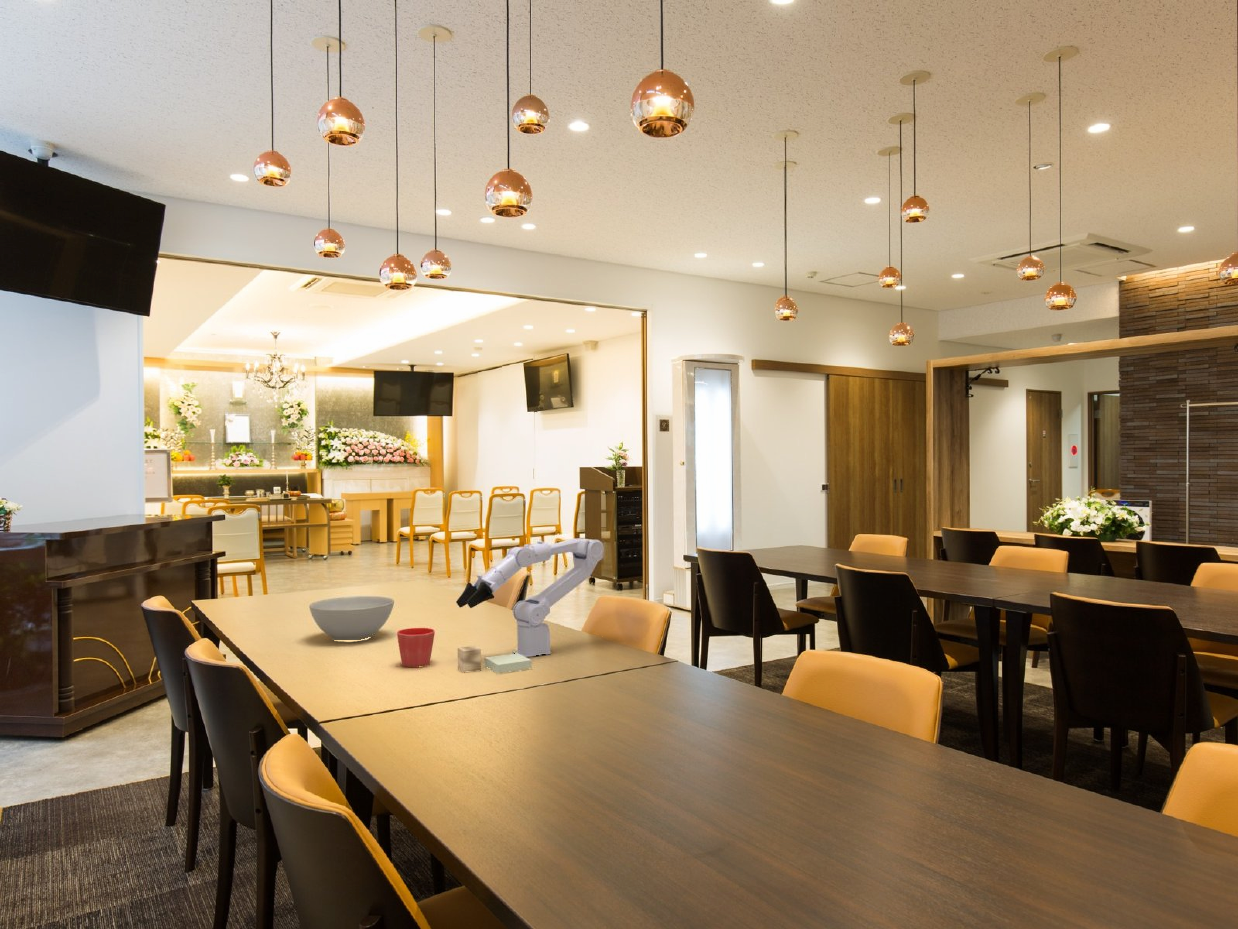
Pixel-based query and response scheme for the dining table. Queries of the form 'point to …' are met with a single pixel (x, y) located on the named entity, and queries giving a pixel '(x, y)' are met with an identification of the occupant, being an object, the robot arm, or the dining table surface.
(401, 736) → the dining table surface
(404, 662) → the flower pot
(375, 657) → the dining table surface
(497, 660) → the base block
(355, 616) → the decorative bowl
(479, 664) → the maple block
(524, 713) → the dining table surface
